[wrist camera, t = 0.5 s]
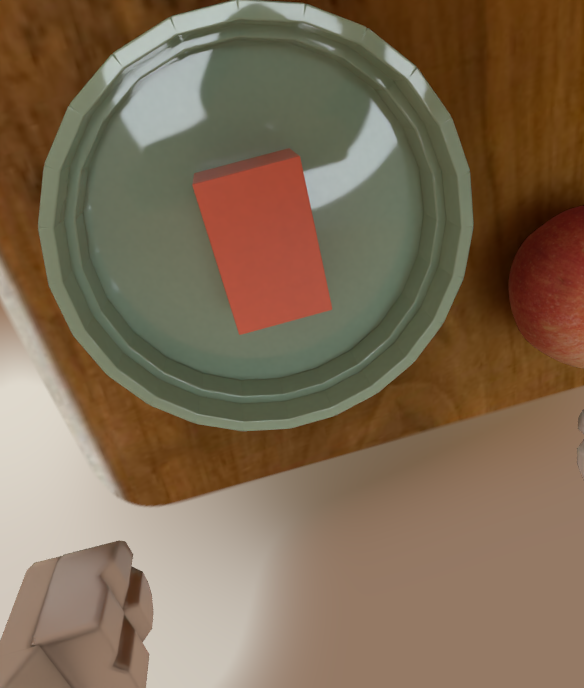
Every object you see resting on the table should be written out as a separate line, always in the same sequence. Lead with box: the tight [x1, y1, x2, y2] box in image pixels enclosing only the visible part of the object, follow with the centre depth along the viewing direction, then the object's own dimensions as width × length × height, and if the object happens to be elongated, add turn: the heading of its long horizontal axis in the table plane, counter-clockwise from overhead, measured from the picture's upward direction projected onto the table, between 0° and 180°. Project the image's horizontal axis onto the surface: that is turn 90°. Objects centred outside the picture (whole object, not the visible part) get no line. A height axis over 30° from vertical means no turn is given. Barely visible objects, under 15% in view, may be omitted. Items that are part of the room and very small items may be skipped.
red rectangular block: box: [192, 148, 332, 335], centre depth 24 cm, size 7×4×3 cm, turn 13°
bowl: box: [38, 0, 474, 431], centre depth 24 cm, size 18×18×4 cm
